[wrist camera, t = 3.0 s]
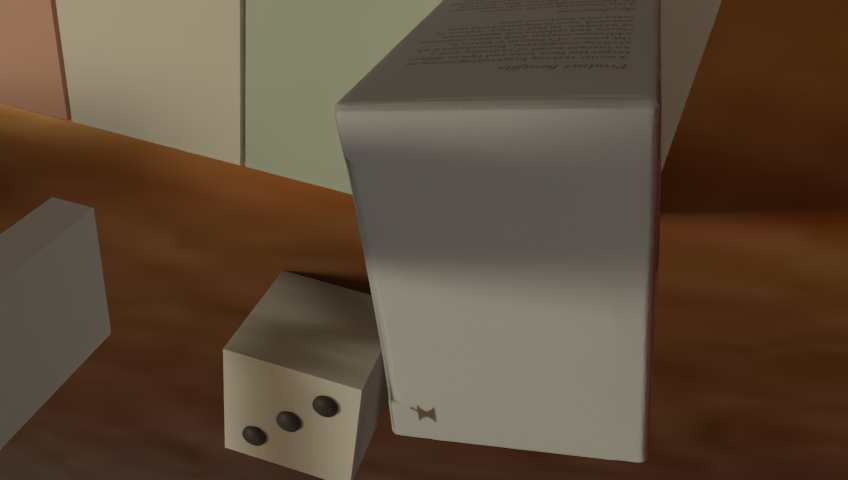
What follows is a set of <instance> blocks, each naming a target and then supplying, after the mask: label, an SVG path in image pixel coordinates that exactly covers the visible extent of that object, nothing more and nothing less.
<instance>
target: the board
mask: <svg viewBox="0 0 848 480" xmlns="http://www.w3.org/2000/svg"><path fill="white" fill-rule="evenodd" d="M442 1H443V0H0V103H1V104H5V105H9V106H13V107H17V108H21V109H25V110H28V111H32V112H36V113H40V114H44V115H48V116H52V117H55V118H59V119H63V120H67V121H68V120H69V119H71V118H72V122H75V123H79V124H82V125H86V126H90V127H94V128H98V129H102V130H106V131H109V132H113V133H117V134H121V135H125V136H129V137H133V138H136V139H140V140H144V141H148V142H152V143H156V144H160V145H163V146H167V147H171V148H175V149H179V150H183V151H186V152H190V153H194V154H198V155H202V156H206V157H210V158H213V159H217V160H221V161H225V162H229V163H233V164H237V165H241V164H242V163H243V162H244V161H245V167H248V168H252V169H256V170H260V171H264V172H267V173H271V174H275V175H279V176H283V177H287V178H291V179H294V180H298V181H302V182H306V183H310V184H314V185H318V186H321V187H325V188H329V189H333V190H337V191H341V192H345V193H348V194H352V189H351V184H350V180H349V175H348V171H347V166H346V162H345V158H344V154H343V150H342V146H341V142H340V137H339V133H338V129H337V125H336V121H335V116H334V107H335V105H336V103H337V102H338V101H339V100H340V99H341V98H342V97H343V96H344V95H345V94H346V93H348V92H349V91H350V90H351V89H352V88H353V87H354V86H355V85H356V84H357V83H358V82H359V81H360V80H361V79H362V78H363V77H364V76H365V75H366V74H367V73H368V72H370V70H371V69H372V68H373V67H374V66H376V65H377V64H378V63H379V62H380V61H381V60H382V59H383V58H384V57H385V56H386V55H387V54H388V53H389V52H390V51H391V50H392V49H393V48H394V47H395V46H396V45H397V44H398V43H399V42H400V41H401V40H402V39H403V38H404V37H405V36H406V35H407V34H408V33H409V32H410V31H411V30H412V29H414V28H415V27H416V26H417V25H418V24H419V23H420V22H421V21H422V20H423V19H424V18H425V17H426V16H427V15H428V14H429V13H431V12H432V11H433V10H434V9H435V8H436V7H437V6H438V5H439V4H440V3H441V2H442ZM721 2H722V0H661V101H662V113H661V172H662V169H663V166H664V164H665V161H666V158H667V155H668V152H669V149H670V147H671V144H672V141H673V138H674V135H675V132H676V130H677V127H678V124H679V121H680V118H681V115H682V113H683V110H684V107H685V104H686V101H687V98H688V96H689V93H690V90H691V87H692V84H693V81H694V79H695V76H696V73H697V70H698V67H699V64H700V62H701V59H702V56H703V53H704V50H705V47H706V45H707V42H708V39H709V36H710V33H711V30H712V27H713V25H714V22H715V19H716V16H717V13H718V10H719V8H720V5H721ZM245 36H246V71H245ZM352 195H353V194H352Z"/></svg>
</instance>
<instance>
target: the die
mask: <svg viewBox="0 0 848 480" xmlns="http://www.w3.org/2000/svg"><path fill="white" fill-rule="evenodd" d="M223 367H224V419H225V447H226V448H229V449H232V450H235V451H238V452H241V453H244V454H247V455H251V456H254V457H257V458H260V459H263V460H266V461H269V462H272V463H276V464H279V465H282V466H285V467H288V468H291V469H294V470H297V471H301V472H304V473H307V474H310V475H313V476H316V477H319V478H323V479H326V480H353V479H354V477H355V475H356V472H357V470H358V468H359V465H360V463H361V461H362V459H363V456H364V454H365V452H366V449H367V447H368V445H369V443H370V440H371V438H372V436H373V433H374V431H375V429H376V427H377V424H378V422H379V420H380V417H381V415H382V413H383V411H384V408H385V406H386V404H387V401H388V399H389V396H388V387H387V381H386V375H385V368H384V362H383V355H382V350H381V344H380V338H379V333H378V327H377V322H376V316H375V310H374V305H373V300H372V295H369V294H366V293H362V292H358V291H355V290H351V289H348V288H344V287H341V286H337V285H333V284H330V283H326V282H323V281H319V280H316V279H312V278H308V277H305V276H301V275H298V274H294V273H290V272H287V271H282V272H281V274H280V275H279V276H278V278H277V279H276V280H275V282H274V283H273V284H272V286H271V287H270V288H269V289H268V291H267V292H266V293H265V295H264V296H263V297H262V299H261V300H260V301H259V303H258V304H257V305H256V307H255V308H254V309H253V310H252V312H251V313H250V314H249V316H248V317H247V318H246V320H245V321H244V322H243V324H242V325H241V326H240V327H239V329H238V330H237V331H236V333H235V334H234V335H233V337H232V338H231V339H230V341H229V342H228V343H227V345H226V346H225V347H224V348H223Z"/></svg>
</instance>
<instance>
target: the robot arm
mask: <svg viewBox="0 0 848 480" xmlns="http://www.w3.org/2000/svg"><path fill="white" fill-rule="evenodd" d="M110 334H111V329H110V322H109V315H108V308H107V300H106V293H105V286H104V279H103V272H102V264H101V257H100V250H99V243H98V236H97V228H96V221H95V214H94V208H91V207H87V206H84V205H80V204H76V203H73V202H69V201H65V200H62V199H58V198H54V197H52V198H50V199H49V200H47V201H46V202H45V203H43V204H42V205H41V206H39V207H38V208H36V209H35V210H34V211H32V212H31V213H30V214H28V215H27V216H25V217H24V218H23V219H21V220H20V221H18V222H17V223H16V224H14V225H13V226H12V227H10V228H9V229H7V230H6V231H5V232H3V233H2V234H1V235H0V449H1V448H2V447H3V446H4V445H5V444H6V443H7V442H8V441H9V440H10V439H11V438H12V437H13V436H14V435H15V434H16V433H17V432H18V430H19V429H20V428H21V427H22V426H23V425H24V424H25V423H26V422H27V421H28V420H29V419H30V418H31V417H32V416H33V415H34V414H35V413H36V412H37V411H38V409H39V408H40V407H41V406H42V405H43V404H44V403H45V402H46V401H47V400H48V399H49V398H50V397H51V396H52V395H53V394H54V393H55V392H56V391H57V389H58V388H59V387H60V386H61V385H62V384H63V383H64V382H65V381H66V380H67V379H68V378H69V377H70V376H71V375H72V374H73V373H74V372H75V371H76V369H77V368H78V367H79V366H80V365H81V364H82V363H83V362H84V361H85V360H86V359H87V358H88V357H89V356H90V355H91V354H92V353H93V352H94V351H95V350H96V348H97V347H98V346H99V345H100V344H101V343H102V342H103V341H104V340H105V339H106V338H107V337H108V336H109V335H110Z"/></svg>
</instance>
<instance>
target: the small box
mask: <svg viewBox="0 0 848 480" xmlns="http://www.w3.org/2000/svg"><path fill="white" fill-rule="evenodd" d="M661 113H662V101H661V0H443V1H442V2H441V3H440V4H439V5H438V6H437V7H436V8H435V9H434V10H433V11H432V12H431V13H429V14H428V15H427V16H426V17H425V18H424V19H423V20H422V21H421V22H420V23H419V24H418V25H417V26H416V27H415V28H414V29H412V30H411V31H410V32H409V33H408V34H407V35H406V36H405V37H404V38H403V39H402V40H401V41H400V42H399V43H398V44H397V45H396V46H395V47H394V48H393V49H392V50H391V51H390V52H389V53H388V54H387V55H386V56H385V57H384V58H383V59H382V60H381V61H380V62H379V63H378V64H377V65H376V66H374V67H373V68H372V69H371V70H370V72H368V73H367V74H366V75H365V76H364V77H363V78H362V79H361V80H360V81H359V82H358V83H357V84H356V85H355V86H354V87H353V88H352V89H351V90H350V91H349V92H348V93H346V94H345V95H344V96H343V97H342V98H341V99H340V100H339V101H338V102H337V103H336V105H335V107H334V116H335V121H336V125H337V129H338V133H339V137H340V142H341V146H342V150H343V154H344V158H345V162H346V166H347V171H348V175H349V180H350V184H351V189H352V194H353V199H354V204H355V209H356V215H357V220H358V225H359V231H360V236H361V240H362V246H363V251H364V256H365V262H366V268H367V273H368V278H369V283H370V289H371V294H372V300H373V305H374V310H375V316H376V322H377V327H378V333H379V338H380V344H381V350H382V355H383V362H384V368H385V375H386V381H387V387H388V396H389V407H390V415H391V423H392V430H393V432H394V433H395V434H398V435H404V436H412V437H420V438H429V439H436V440H443V441H453V442H461V443H469V444H478V445H487V446H496V447H505V448H512V449H521V450H531V451H539V452H548V453H556V454H564V455H573V456H581V457H591V458H600V459H608V460H622V461H630V462H643V461H645V460H646V459H647V458H648V442H649V421H650V406H651V389H652V371H653V352H654V335H655V318H656V301H657V283H658V264H659V236H660V206H661Z"/></svg>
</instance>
